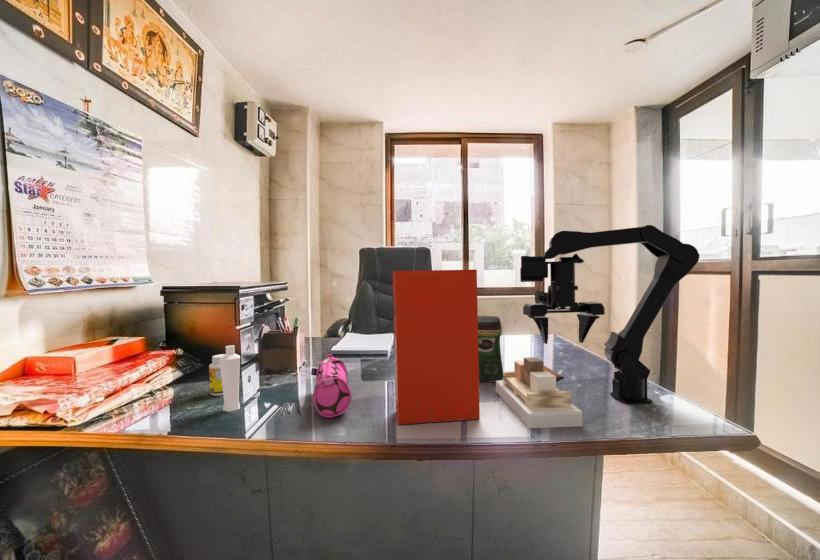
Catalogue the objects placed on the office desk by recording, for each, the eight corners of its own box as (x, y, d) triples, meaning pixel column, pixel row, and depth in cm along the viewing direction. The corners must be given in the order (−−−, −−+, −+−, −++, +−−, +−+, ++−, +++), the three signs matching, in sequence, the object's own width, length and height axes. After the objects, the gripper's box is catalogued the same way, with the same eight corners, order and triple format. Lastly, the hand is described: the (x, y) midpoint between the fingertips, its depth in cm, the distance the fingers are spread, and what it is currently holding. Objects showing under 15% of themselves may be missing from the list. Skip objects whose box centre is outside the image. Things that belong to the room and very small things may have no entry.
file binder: (395, 410, 81) (392, 271, 80) (468, 406, 83) (466, 270, 83) (398, 425, 73) (395, 271, 72) (479, 420, 75) (477, 269, 74)
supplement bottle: (211, 391, 98) (210, 354, 97) (233, 388, 100) (232, 352, 100) (208, 397, 92) (207, 358, 92) (232, 394, 95) (231, 356, 94)
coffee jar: (502, 375, 107) (501, 314, 106) (503, 383, 99) (502, 317, 99) (470, 374, 109) (469, 314, 108) (468, 382, 101) (467, 317, 101)
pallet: (537, 382, 90) (537, 350, 90) (571, 406, 73) (571, 368, 73) (503, 383, 90) (502, 352, 90) (529, 408, 73) (528, 370, 73)
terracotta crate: (530, 376, 89) (530, 360, 89) (536, 381, 85) (536, 364, 85) (514, 376, 89) (514, 361, 88) (520, 381, 85) (520, 365, 84)
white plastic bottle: (238, 403, 88) (237, 343, 87) (245, 408, 85) (243, 345, 84) (218, 408, 84) (216, 346, 84) (224, 413, 81) (222, 348, 81)
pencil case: (311, 391, 96) (310, 354, 96) (347, 387, 99) (346, 352, 99) (310, 422, 76) (309, 376, 76) (356, 417, 78) (355, 372, 78)
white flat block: (537, 390, 93) (537, 379, 93) (582, 426, 71) (582, 411, 71) (496, 391, 92) (495, 380, 92) (528, 428, 70) (528, 413, 70)
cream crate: (547, 389, 79) (547, 371, 79) (556, 395, 75) (556, 376, 75) (530, 389, 79) (530, 371, 78) (537, 396, 75) (537, 377, 74)
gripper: (581, 280, 98) (582, 336, 98) (515, 281, 97) (516, 338, 97) (605, 281, 87) (606, 344, 87) (531, 282, 86) (532, 346, 86)
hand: (563, 343), depth 90 cm, fingers open, 9 cm apart
